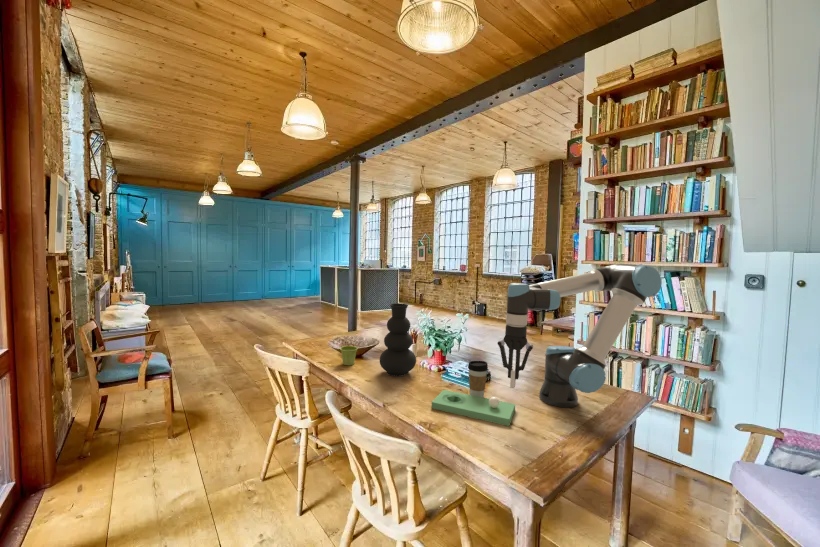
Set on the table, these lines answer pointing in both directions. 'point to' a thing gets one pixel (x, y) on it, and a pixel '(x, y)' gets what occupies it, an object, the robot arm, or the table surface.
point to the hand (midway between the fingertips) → (512, 386)
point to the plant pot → (348, 354)
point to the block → (474, 407)
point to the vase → (398, 343)
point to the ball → (494, 402)
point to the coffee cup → (477, 377)
